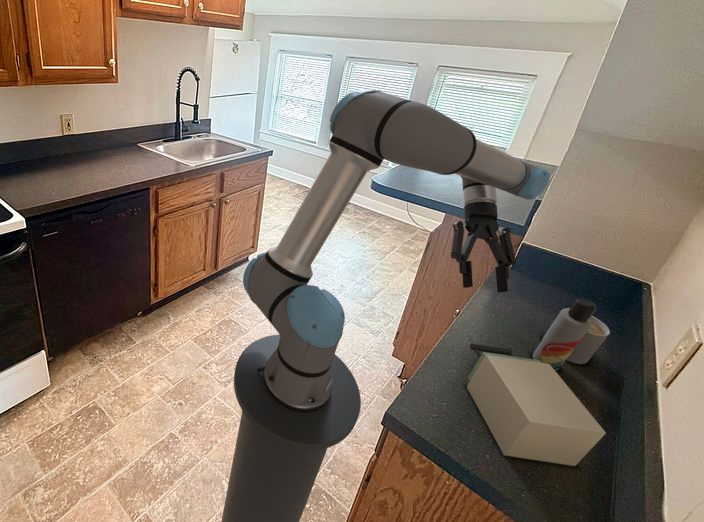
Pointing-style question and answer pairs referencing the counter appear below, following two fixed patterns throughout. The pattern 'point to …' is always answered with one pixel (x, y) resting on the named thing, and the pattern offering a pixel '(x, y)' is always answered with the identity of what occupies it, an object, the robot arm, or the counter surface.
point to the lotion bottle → (565, 334)
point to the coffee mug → (588, 341)
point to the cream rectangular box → (533, 411)
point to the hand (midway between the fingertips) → (485, 289)
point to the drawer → (492, 350)
